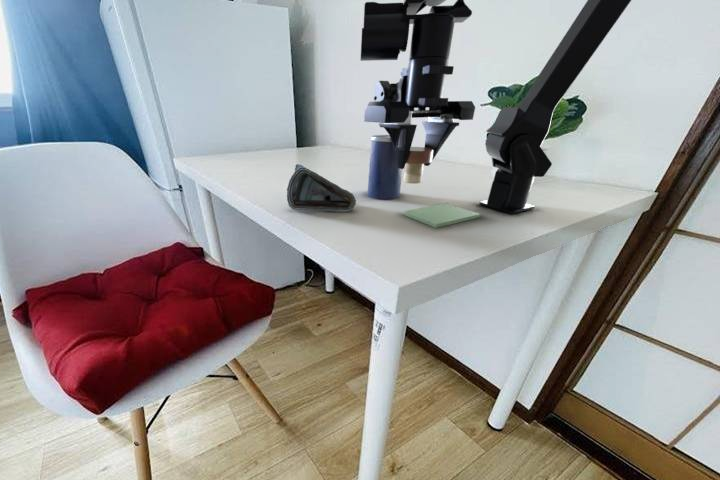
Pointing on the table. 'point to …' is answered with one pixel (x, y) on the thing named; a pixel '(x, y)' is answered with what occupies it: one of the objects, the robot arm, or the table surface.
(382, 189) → the can
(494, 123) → the robot arm
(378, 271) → the table surface
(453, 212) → the napkin
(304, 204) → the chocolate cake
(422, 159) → the mushroom
